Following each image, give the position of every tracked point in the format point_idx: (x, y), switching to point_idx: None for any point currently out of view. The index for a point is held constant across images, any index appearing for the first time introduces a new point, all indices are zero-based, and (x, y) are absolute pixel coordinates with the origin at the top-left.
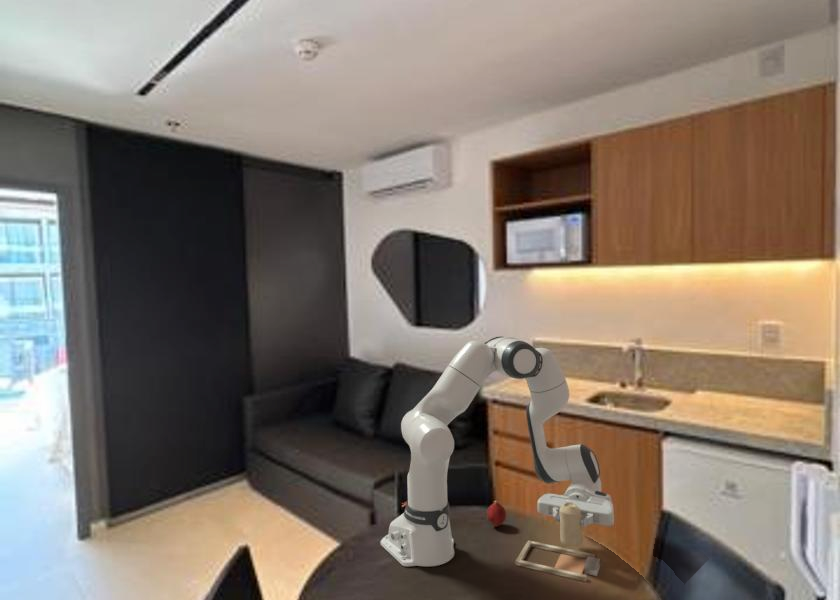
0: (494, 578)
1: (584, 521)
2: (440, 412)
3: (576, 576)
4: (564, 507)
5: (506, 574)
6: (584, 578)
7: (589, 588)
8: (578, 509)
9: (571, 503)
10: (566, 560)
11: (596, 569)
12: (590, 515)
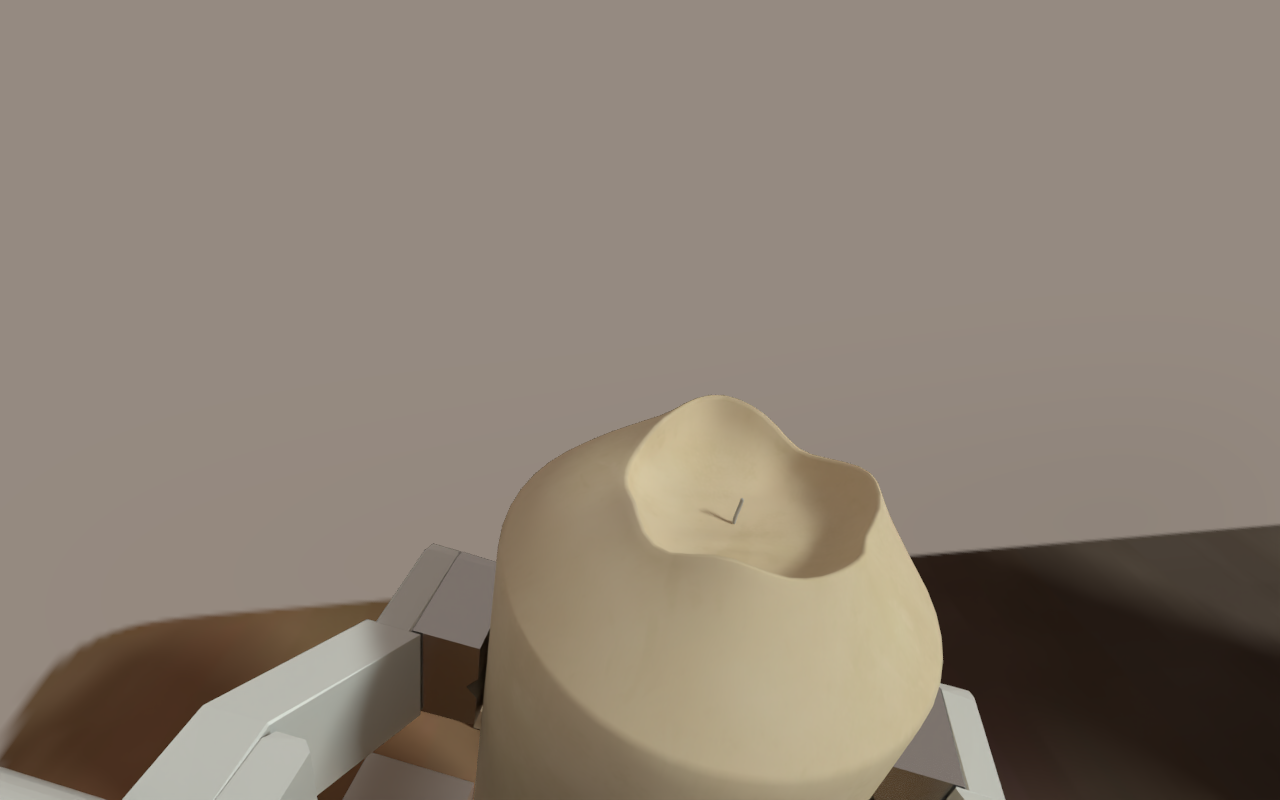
0: (1037, 657)
1: (458, 553)
2: None
3: None
4: (830, 464)
5: (1007, 708)
6: None
7: None
8: (562, 470)
9: (728, 564)
10: None
11: (372, 756)
12: (254, 707)
